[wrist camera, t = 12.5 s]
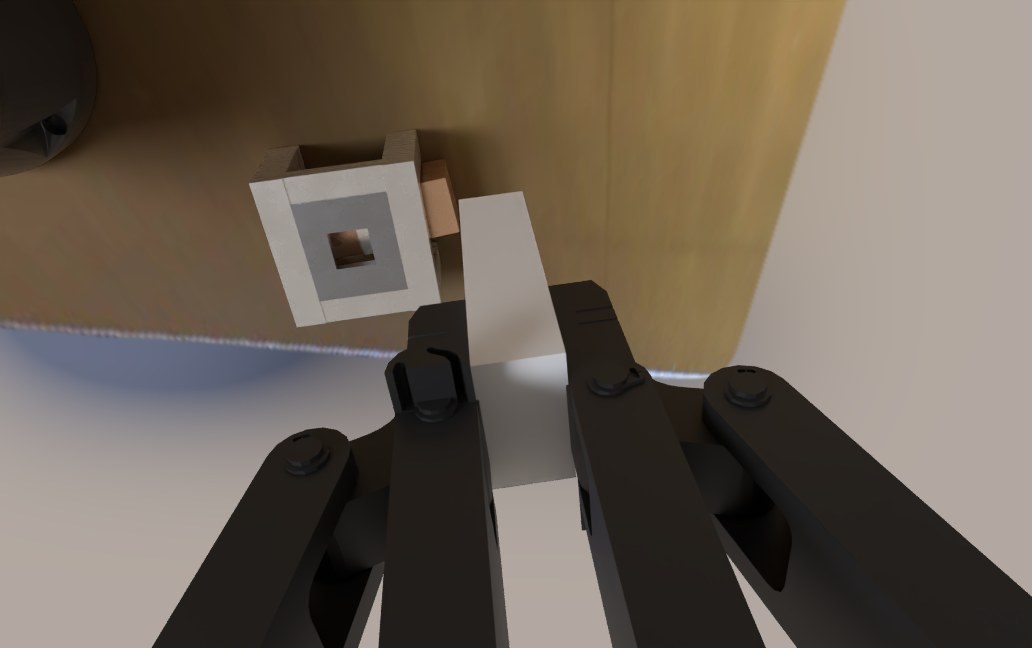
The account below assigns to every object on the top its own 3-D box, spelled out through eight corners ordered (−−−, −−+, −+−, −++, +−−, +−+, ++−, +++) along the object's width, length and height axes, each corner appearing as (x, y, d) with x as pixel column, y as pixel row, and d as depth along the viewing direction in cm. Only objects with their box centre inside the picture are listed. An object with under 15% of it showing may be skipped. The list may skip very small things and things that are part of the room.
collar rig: (310, 282, 53) (297, 327, 48) (269, 149, 47) (248, 183, 42) (441, 264, 53) (441, 306, 48) (415, 129, 48) (413, 161, 42)
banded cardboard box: (300, 245, 52) (290, 273, 48) (278, 190, 49) (265, 215, 46) (458, 211, 51) (460, 236, 48) (443, 153, 49) (444, 175, 45)
